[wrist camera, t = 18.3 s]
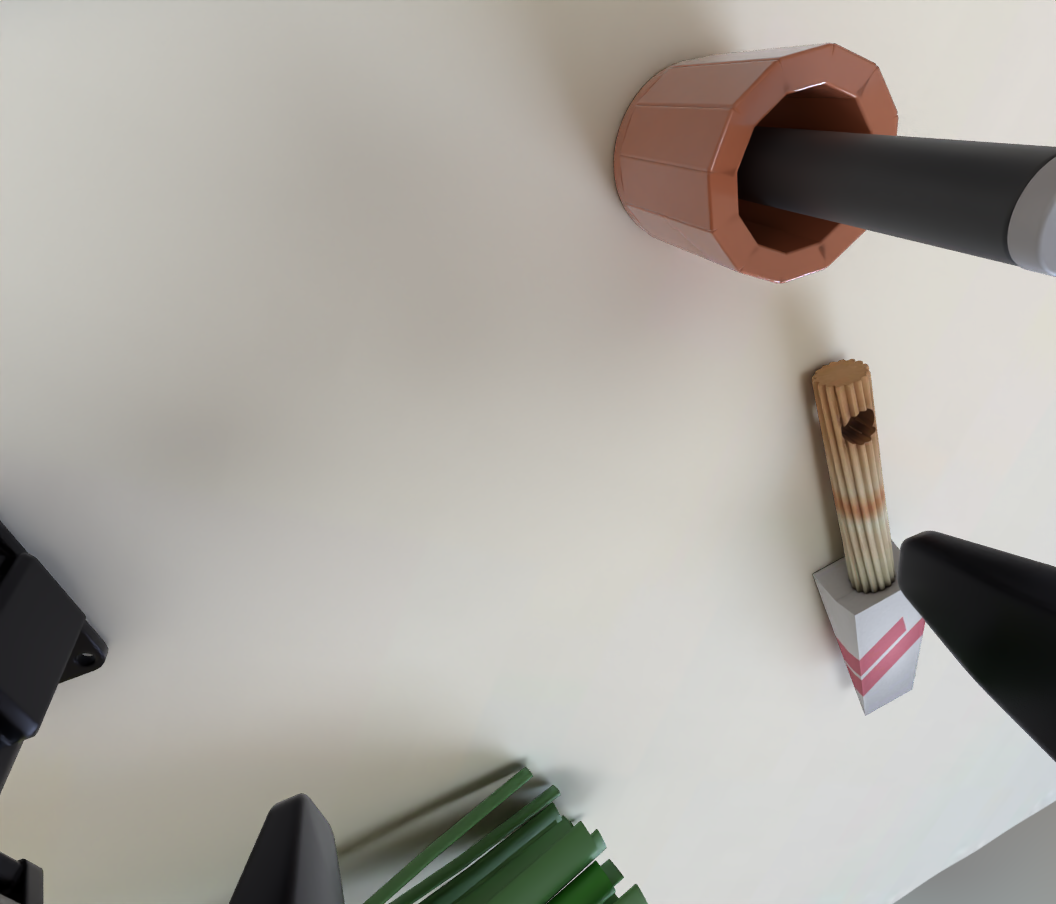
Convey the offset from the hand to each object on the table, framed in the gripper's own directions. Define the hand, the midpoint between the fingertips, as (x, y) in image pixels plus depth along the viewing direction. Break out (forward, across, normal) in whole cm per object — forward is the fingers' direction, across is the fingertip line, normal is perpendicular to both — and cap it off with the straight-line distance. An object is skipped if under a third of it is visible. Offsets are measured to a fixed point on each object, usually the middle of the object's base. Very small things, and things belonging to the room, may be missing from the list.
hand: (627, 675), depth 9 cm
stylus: (+11, -8, -4) cm, 14 cm away
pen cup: (+12, -8, -4) cm, 15 cm away
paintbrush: (+12, -14, +14) cm, 23 cm away
